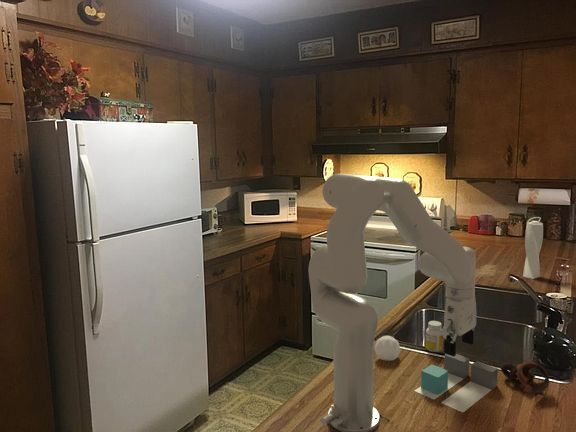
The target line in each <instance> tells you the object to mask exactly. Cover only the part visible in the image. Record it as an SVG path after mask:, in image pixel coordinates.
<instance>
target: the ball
mask: <svg viewBox="0 0 576 432" xmlns="http://www.w3.org/2000/svg"><path fill="white" fill-rule="evenodd" d="M373 350H374V352H375V356H376V357H377V358H379V359H380V360H382V361H386V362H388V361H391V362H392V361H395V360H396V359H397V358H399V356H400V353H401V346H400V343H399V341H398V340H397V339H395V338H394V337H393V336H392V335H382V336H381V337H379V338H378V339H376V342H375V343H374V348H373Z"/></svg>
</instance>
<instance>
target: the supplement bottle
mask: <svg viewBox="0 0 576 432" xmlns="http://www.w3.org/2000/svg"><path fill="white" fill-rule="evenodd" d="M427 324H428V325H427V328H426V329H425V343H424V344H425V345H424V348H425V350H427V351H428V352H431V353H444V350H443V349H444V340H443V338H442V333H441V330H442V328H443V327H442V326H443V324H442V322H440V321H437V320H430V321H428V323H427Z"/></svg>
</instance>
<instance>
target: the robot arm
mask: <svg viewBox="0 0 576 432" xmlns="http://www.w3.org/2000/svg"><path fill="white" fill-rule="evenodd" d="M321 192H322V197H323V199H324V201H325V203H326V204H327V205H328V206H330V207H331V208H334V209H336V210H335V212H334V213H333V214H332V216H331V218H330V219H329V221H328V224H327V227H326V245H324V246H320V247H319V248H317V249H316V250H314V252H313V253H312V254H311V256H310V258H309V259H310V260H309V264H308V281H309V287H310V295H311V302H312V309H313V311H314V314H315V316H316V317H317V318H318V320H320V322H323V323H324V324H325V325H327V326H329V327H330V328H332V329H334V330H335V331H338V338H337V340H336V341H335V344H334V346H333V404H331V407H330V408H329V410H328V412H327V414H326V415H324V416H323V417H321V418H320V423H321V425H322V426H324V427H326V426H327V425H331V427H333V428H334V429H335V430H338V431H339V432H372V431H373V430H375V429H377V427H378V426H379V425H380V414H379V412H378V410H377V409H376V408H375V407H374V347H375V338H376V332H377V329H378V328H377V327H378V323H379V321H378V320H379V314H378V312H377V309H376V307H375V306H374V305H373V304H372V303H371V302H370V301H369V300H368V299H366V298H364V297H361V296H360V295H357V294H358V293H361V292H363V290H364V289H365V288H366V286H367V281H368V268H367V259H366V258H367V257H366V248H365V247H366V246H365V230H366V227H367V225H368V223H369V221H370V219H371V218H372V217H373V216H374V214H375V213H376V212H377V211H379V212H384V214H386V215H387V217H388V218H389V220H390V221H391V222H392V224H393V225H394V227H395V229H396V231H398V233H399V235H400V236H401V238H402V239H403V240H404V241H405V242H406V243H409V244H410V245H411V246H413V247H415V248H416V249H419V250H420V251H423V253H422V254H421V256H420V257H419V259H418V264H417V265H418V268H419V270H420V272H421V274H423V275H425V276H426V277H429V278H432V279H434V280H438V281H441V282H444V283H445V297H446V300H445V306H444V315H443V321H444V322H443V324H444V325H443V327H442V328H441V329H442V330H441V333H442V338H443V349H444V350H443V353H444V355H445V354H448V355H451V356H453V357H454V356H456V354H457V342H456V338H457V336H459V337H460V336H461V341H462V342H463V343H466V344H468V345H469V344H470V345H474V331H475V327H476V326H477V315H478V314H477V303H476V302H477V301H476V295H475V293H476V292H475V291H476V290H475V288H476V251H475V250H474V249H473V248H472V247H470V246H469V247H468V246H466V245H465V246H463V245H462V244H461V243H460V242H459V241H458V240H457V238H455V236H453V235H452V234H450V233H449V232H448V231H446V230H445V228H443V227H442V226H441V225H439V224H438V223H437V222H436V221H434V220H433V218H432V217H431V215H430V214H429V213H428V211H427V210H426V208H425V206H424V205H423V203H422V202H421V200H420V198H419V196H418V195H417V194H416V192H415V190H414V188H413V187H412V186H411V185H410V183H409V182H408V181H406V180H404V179H401V178H396V177H395V178H394V177H383V176H373V175H372V176H370V175H359V174H349V173H335V174H332V175H330V176H329V177H327V179H326V180H325V182H324V183H323V186H322V191H321ZM450 334H452V336H451V335H450Z"/></svg>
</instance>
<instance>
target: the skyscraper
mask: <svg viewBox="0 0 576 432" xmlns="http://www.w3.org/2000/svg"><path fill="white" fill-rule="evenodd" d="M533 219H538V220H533ZM541 219H542V217H539V216H534V217H531V218H529V219H528V220H527V221H526V225H525V226H526V227H525V235H524V236H525V237H524V246H525V247H524V250H525V254H526V255H525V262H524V266H523V272H522V273H523V274H522V277H524V278H527V279H533V280H534V279H535V280H536V279H538V278H540V277H541V272H540V271H541V270H540V267H541V266H540V258H539V257H540V252H541V249H542V245H543V239H544V223H543V222H541Z"/></svg>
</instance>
